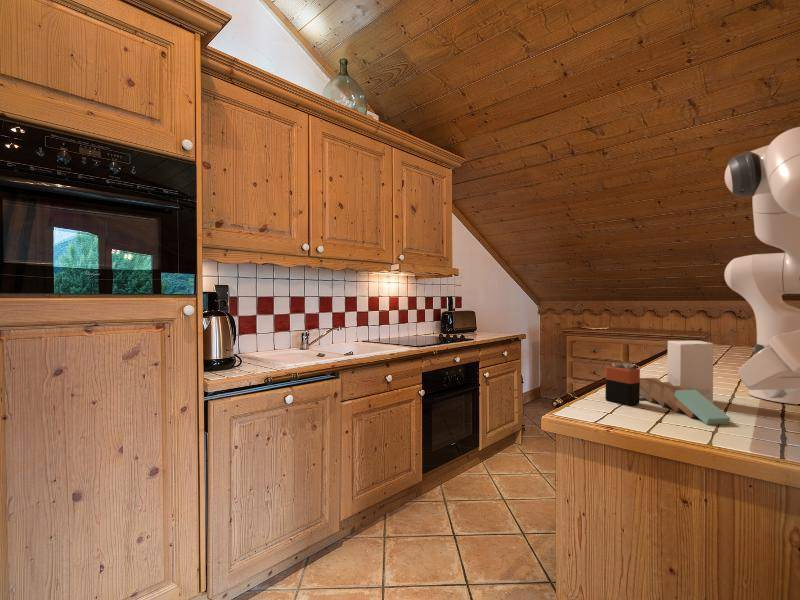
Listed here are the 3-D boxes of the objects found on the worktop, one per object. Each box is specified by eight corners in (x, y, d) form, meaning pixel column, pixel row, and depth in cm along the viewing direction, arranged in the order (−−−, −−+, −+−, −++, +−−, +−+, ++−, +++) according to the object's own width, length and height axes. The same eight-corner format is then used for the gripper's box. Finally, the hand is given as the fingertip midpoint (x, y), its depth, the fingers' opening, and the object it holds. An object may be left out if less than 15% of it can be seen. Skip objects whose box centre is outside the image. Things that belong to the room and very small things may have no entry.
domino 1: (669, 402, 104) (643, 384, 113) (670, 396, 103) (644, 379, 113) (651, 402, 103) (626, 385, 113) (652, 397, 103) (627, 379, 113)
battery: (630, 406, 100) (631, 366, 100) (604, 400, 106) (605, 362, 105) (640, 404, 102) (640, 365, 102) (614, 398, 108) (614, 361, 108)
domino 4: (711, 417, 91) (679, 390, 100) (713, 411, 91) (681, 385, 100) (690, 418, 91) (660, 391, 100) (693, 412, 90) (662, 385, 99)
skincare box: (698, 397, 108) (699, 340, 108) (714, 404, 102) (716, 343, 101) (665, 396, 109) (666, 339, 109) (679, 403, 103) (680, 342, 102)
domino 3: (695, 412, 95) (667, 386, 105) (698, 406, 95) (669, 381, 104) (676, 412, 95) (649, 387, 104) (678, 407, 94) (650, 382, 103)
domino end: (727, 423, 87) (693, 395, 96) (730, 418, 86) (695, 389, 96) (706, 424, 87) (673, 395, 96) (708, 418, 86) (675, 390, 95)
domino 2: (681, 406, 100) (655, 382, 109) (683, 401, 99) (657, 377, 108) (662, 407, 99) (637, 383, 108) (664, 401, 99) (639, 378, 108)
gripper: (874, 334, 68) (809, 379, 78) (764, 335, 66) (712, 381, 76) (908, 365, 64) (835, 408, 74) (792, 367, 62) (733, 411, 72)
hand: (771, 394), depth 75 cm, fingers closed
